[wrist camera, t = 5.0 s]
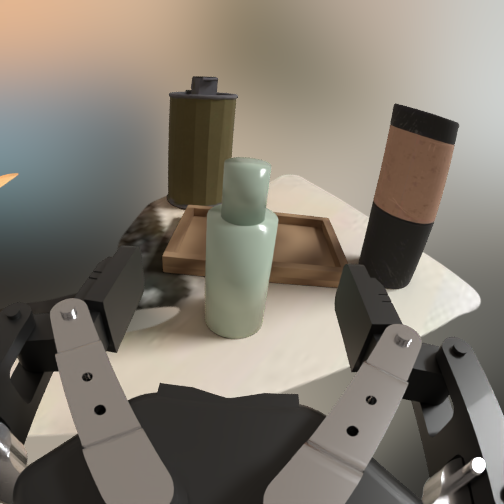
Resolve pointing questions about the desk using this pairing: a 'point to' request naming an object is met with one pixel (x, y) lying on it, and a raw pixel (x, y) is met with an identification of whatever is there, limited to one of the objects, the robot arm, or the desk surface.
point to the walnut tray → (285, 250)
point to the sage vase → (239, 250)
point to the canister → (199, 143)
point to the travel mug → (407, 194)
